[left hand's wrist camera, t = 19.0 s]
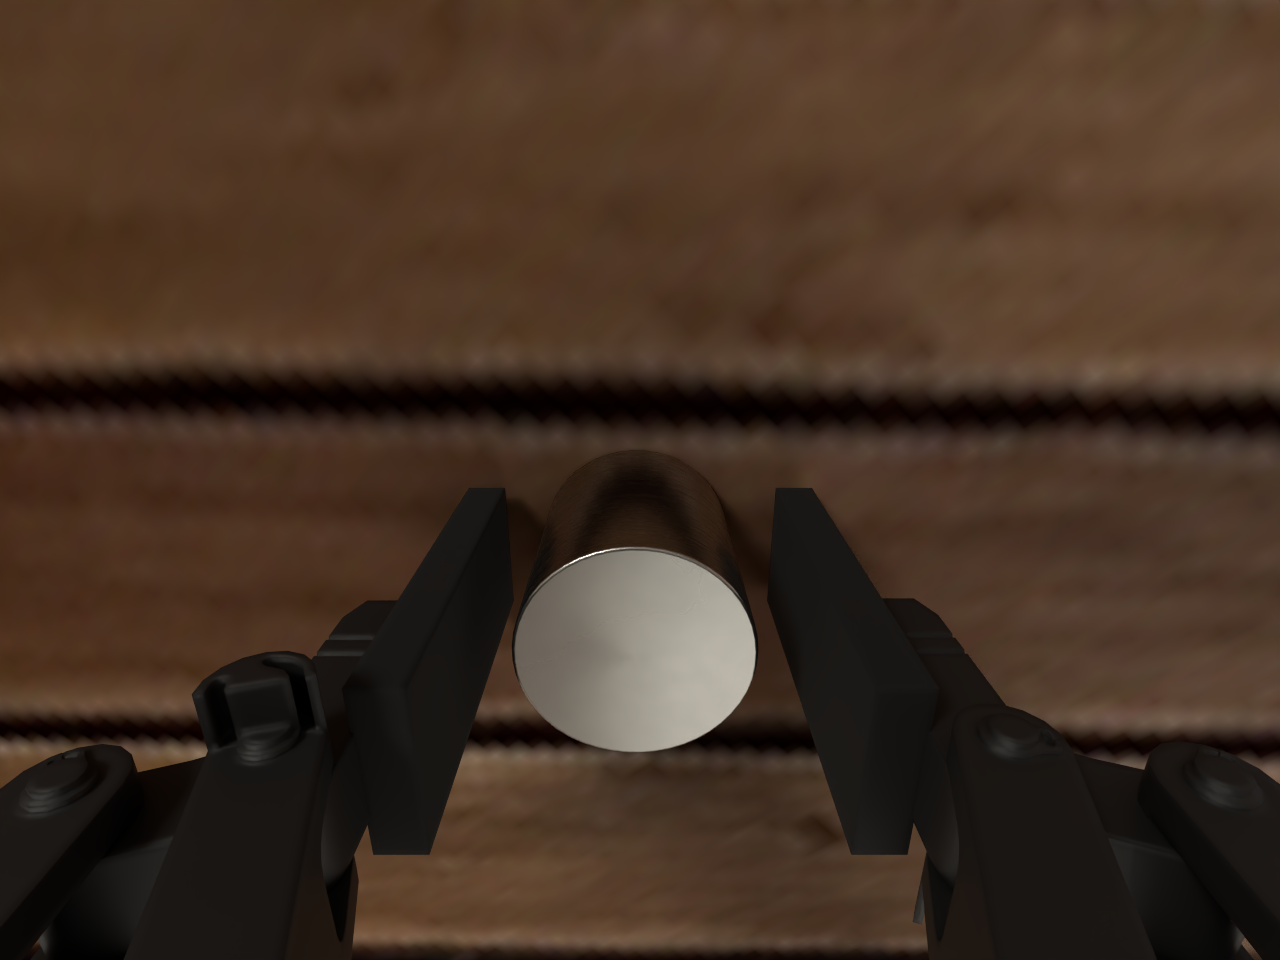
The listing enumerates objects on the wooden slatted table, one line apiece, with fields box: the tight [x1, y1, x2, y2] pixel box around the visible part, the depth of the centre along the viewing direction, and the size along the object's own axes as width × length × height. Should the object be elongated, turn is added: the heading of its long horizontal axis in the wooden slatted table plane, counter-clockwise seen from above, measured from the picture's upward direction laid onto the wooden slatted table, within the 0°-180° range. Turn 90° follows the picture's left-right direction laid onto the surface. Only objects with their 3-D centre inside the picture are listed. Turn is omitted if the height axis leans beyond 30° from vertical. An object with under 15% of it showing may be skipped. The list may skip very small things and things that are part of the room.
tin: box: [512, 450, 758, 753], centre depth 13 cm, size 4×4×4 cm
